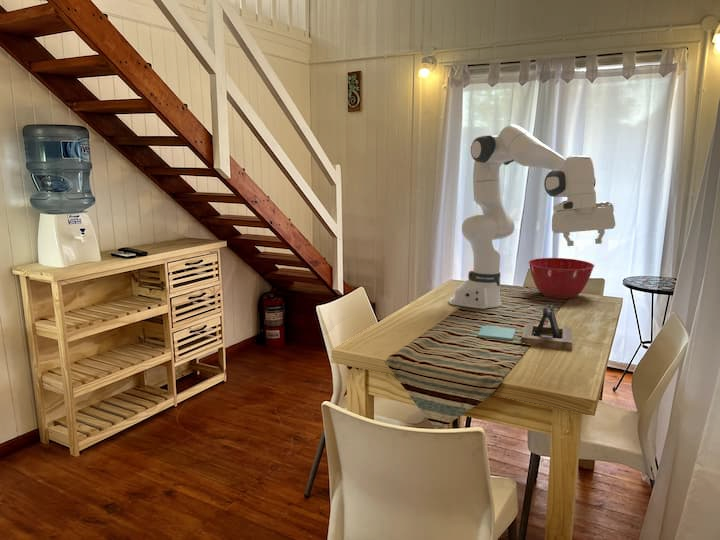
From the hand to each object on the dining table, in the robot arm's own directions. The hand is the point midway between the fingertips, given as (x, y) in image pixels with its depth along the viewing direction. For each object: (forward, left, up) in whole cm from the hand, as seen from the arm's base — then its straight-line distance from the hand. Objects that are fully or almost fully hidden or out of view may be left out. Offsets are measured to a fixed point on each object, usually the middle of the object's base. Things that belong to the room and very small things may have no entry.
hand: (584, 244), depth 181 cm
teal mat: (-27, -2, -33) cm, 43 cm away
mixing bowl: (-7, +68, -34) cm, 76 cm away
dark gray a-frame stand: (-10, -2, -34) cm, 35 cm away
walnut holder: (-10, -2, -33) cm, 35 cm away
